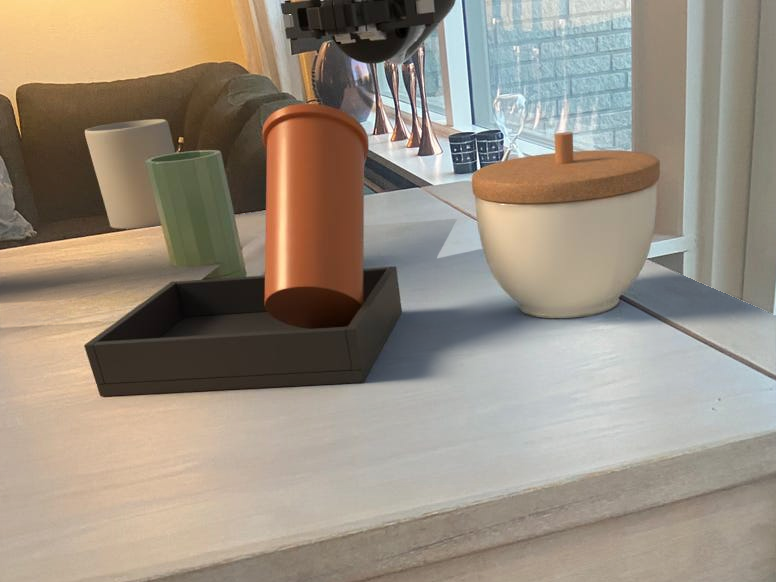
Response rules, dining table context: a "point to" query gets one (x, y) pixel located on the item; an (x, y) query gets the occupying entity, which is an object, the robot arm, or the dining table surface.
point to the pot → (314, 216)
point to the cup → (197, 211)
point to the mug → (128, 168)
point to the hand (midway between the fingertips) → (335, 17)
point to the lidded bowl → (567, 226)
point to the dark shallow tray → (237, 340)
